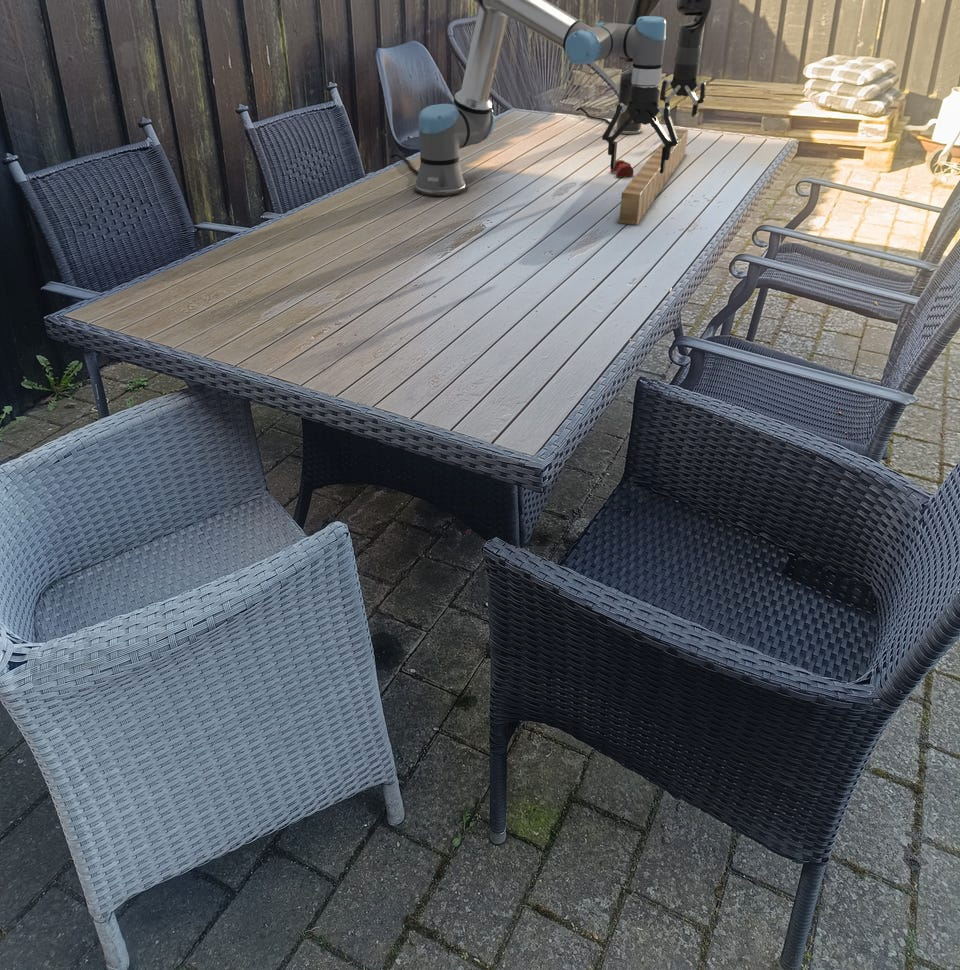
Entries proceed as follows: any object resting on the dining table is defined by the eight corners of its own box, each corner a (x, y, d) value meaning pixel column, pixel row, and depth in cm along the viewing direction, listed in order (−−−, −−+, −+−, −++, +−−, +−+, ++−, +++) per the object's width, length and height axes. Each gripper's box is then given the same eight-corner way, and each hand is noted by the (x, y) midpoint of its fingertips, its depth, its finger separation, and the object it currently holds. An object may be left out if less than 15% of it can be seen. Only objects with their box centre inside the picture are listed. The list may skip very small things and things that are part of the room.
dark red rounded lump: (625, 156, 273) (635, 163, 267) (625, 169, 276) (634, 176, 269) (609, 158, 272) (618, 165, 266) (608, 171, 275) (618, 178, 268)
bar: (636, 225, 232) (639, 194, 227) (618, 222, 233) (621, 192, 229) (684, 154, 291) (688, 129, 287) (670, 153, 293) (673, 128, 288)
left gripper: (696, 85, 217) (685, 170, 229) (602, 79, 224) (596, 162, 236) (691, 90, 211) (680, 177, 223) (594, 84, 218) (589, 169, 231)
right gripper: (711, 60, 271) (703, 114, 280) (666, 58, 275) (660, 111, 284) (707, 64, 265) (699, 119, 274) (662, 62, 269) (656, 116, 279)
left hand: (637, 170), depth 230 cm, fingers open, 13 cm apart
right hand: (679, 115), depth 279 cm, fingers open, 8 cm apart
